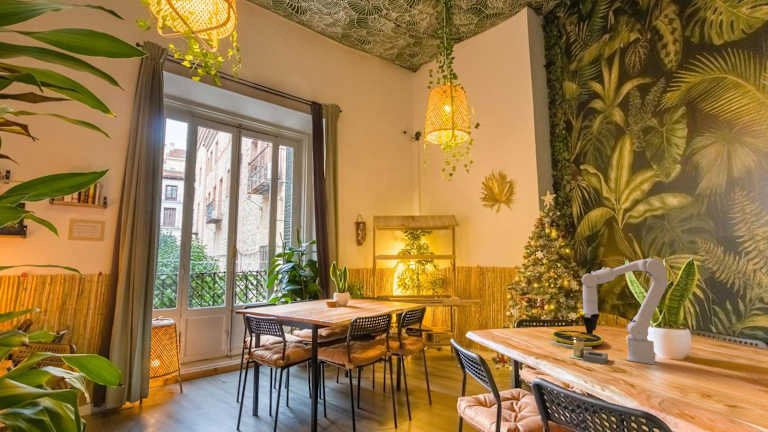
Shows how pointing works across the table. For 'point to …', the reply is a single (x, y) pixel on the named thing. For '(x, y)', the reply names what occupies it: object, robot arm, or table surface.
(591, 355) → the gray block
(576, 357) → the mat
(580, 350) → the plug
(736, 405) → the table surface
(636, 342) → the robot arm
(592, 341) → the wall ornament
